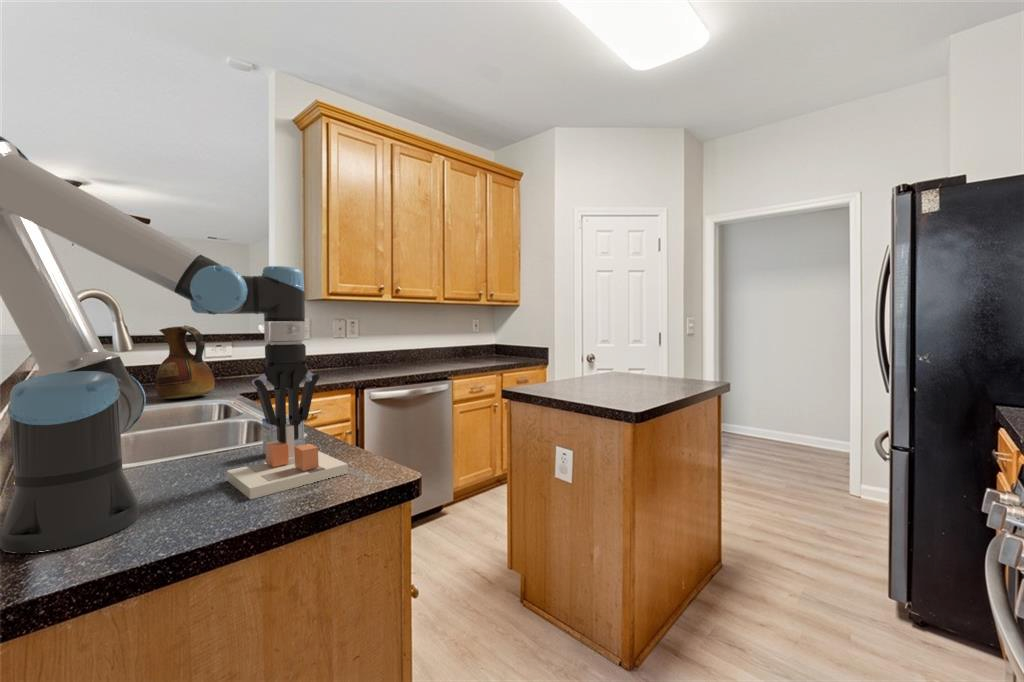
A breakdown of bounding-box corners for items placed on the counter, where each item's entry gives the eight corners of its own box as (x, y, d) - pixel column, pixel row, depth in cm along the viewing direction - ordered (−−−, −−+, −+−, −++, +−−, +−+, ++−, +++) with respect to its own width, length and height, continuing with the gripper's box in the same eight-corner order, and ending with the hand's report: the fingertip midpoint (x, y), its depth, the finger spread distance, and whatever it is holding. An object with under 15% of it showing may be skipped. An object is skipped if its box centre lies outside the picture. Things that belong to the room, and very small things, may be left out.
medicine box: (296, 447, 113) (295, 412, 113) (305, 450, 110) (304, 414, 110) (262, 454, 107) (261, 418, 107) (271, 458, 104) (269, 420, 104)
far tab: (273, 467, 91) (272, 447, 90) (265, 462, 93) (265, 443, 93) (288, 463, 93) (288, 444, 93) (281, 459, 96) (280, 440, 95)
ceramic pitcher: (178, 394, 197) (175, 325, 196) (225, 393, 198) (222, 324, 196) (143, 402, 177) (139, 326, 176) (195, 402, 178) (192, 325, 177)
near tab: (303, 471, 88) (302, 450, 88) (294, 466, 91) (294, 446, 91) (318, 467, 90) (318, 447, 90) (310, 463, 93) (309, 443, 93)
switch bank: (250, 499, 80) (250, 487, 80) (227, 480, 90) (226, 470, 90) (347, 473, 93) (347, 463, 93) (318, 459, 103) (318, 450, 103)
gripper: (257, 344, 86) (260, 467, 87) (324, 342, 96) (327, 453, 97) (244, 343, 91) (247, 459, 93) (309, 341, 101) (312, 446, 102)
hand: (288, 456), depth 95 cm, fingers closed
